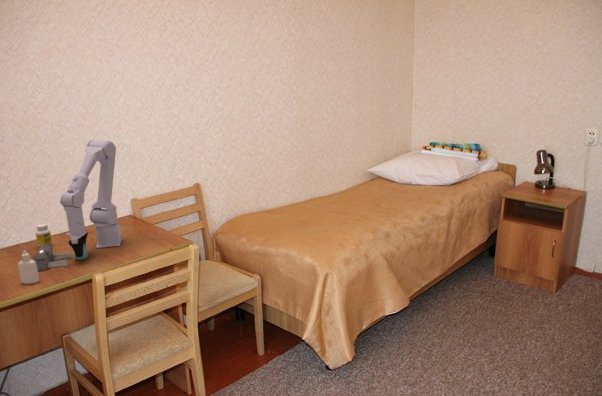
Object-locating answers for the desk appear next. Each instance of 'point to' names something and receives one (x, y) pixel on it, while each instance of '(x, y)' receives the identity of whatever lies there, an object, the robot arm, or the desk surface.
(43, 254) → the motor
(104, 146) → the robot arm
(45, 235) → the supplement bottle
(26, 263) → the eye dropper bottle
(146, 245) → the desk surface
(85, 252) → the teal cylinder
